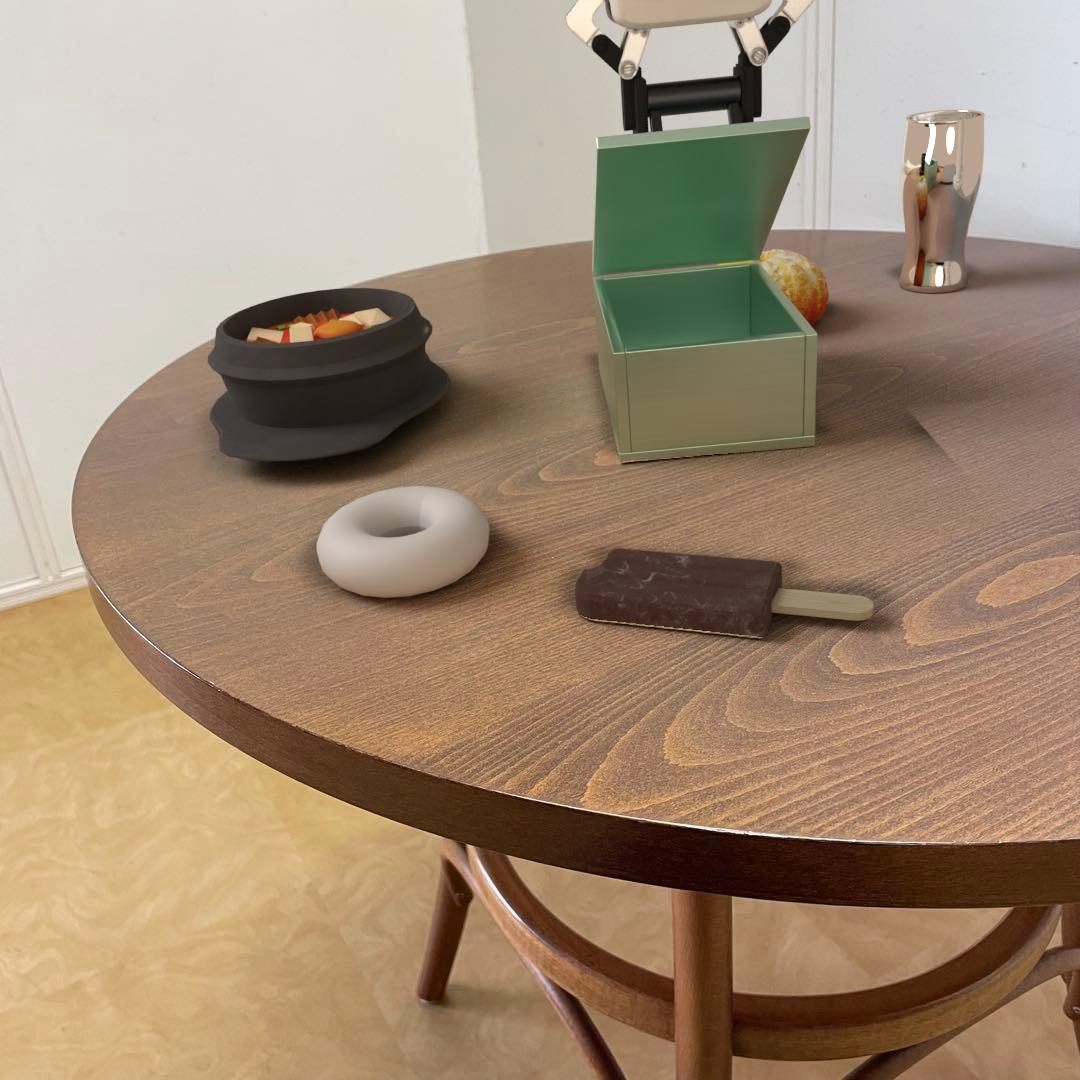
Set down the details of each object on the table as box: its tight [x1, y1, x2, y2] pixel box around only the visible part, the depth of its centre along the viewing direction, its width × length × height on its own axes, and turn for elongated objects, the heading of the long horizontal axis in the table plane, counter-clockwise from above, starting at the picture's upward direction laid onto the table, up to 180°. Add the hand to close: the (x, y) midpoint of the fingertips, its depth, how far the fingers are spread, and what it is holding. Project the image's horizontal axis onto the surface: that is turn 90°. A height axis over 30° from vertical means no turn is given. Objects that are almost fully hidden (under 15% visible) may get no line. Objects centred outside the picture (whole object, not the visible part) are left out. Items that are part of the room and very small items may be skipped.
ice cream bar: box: [574, 548, 874, 638], centre depth 58 cm, size 5×2×15 cm
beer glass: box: [898, 109, 986, 294], centre depth 102 cm, size 7×7×15 cm
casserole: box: [207, 287, 451, 463], centre depth 86 cm, size 25×19×8 cm
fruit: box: [716, 248, 830, 327], centre depth 99 cm, size 11×10×8 cm
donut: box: [316, 485, 490, 599], centre depth 65 cm, size 10×4×10 cm
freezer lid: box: [591, 75, 812, 277], centre depth 79 cm, size 20×13×5 cm
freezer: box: [592, 262, 819, 463], centre depth 82 cm, size 19×13×8 cm
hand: (692, 133), depth 74 cm, fingers closed on freezer lid, 6 cm apart
